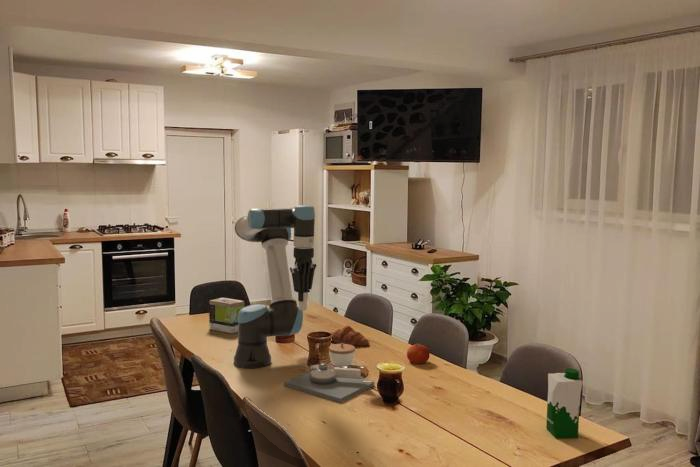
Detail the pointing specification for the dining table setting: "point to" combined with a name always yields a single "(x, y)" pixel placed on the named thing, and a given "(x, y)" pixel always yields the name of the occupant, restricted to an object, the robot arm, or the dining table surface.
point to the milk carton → (564, 403)
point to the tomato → (418, 353)
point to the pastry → (349, 337)
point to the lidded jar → (341, 354)
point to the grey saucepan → (334, 373)
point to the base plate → (330, 387)
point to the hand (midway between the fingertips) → (302, 309)
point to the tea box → (224, 314)
